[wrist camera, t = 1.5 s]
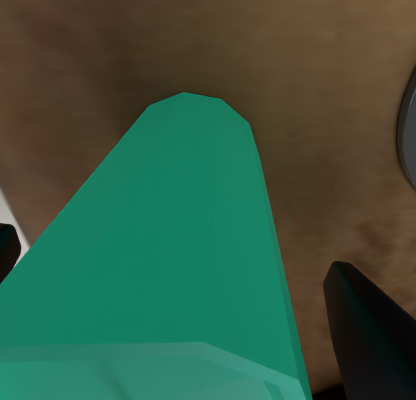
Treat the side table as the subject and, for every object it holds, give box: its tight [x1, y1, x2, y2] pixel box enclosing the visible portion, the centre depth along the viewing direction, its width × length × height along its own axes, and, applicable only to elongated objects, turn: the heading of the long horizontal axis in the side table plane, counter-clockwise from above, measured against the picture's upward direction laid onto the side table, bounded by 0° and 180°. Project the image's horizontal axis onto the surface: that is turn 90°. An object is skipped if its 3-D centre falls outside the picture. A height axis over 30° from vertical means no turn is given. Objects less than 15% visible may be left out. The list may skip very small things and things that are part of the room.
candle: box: [0, 92, 312, 400], centre depth 8 cm, size 6×6×12 cm
